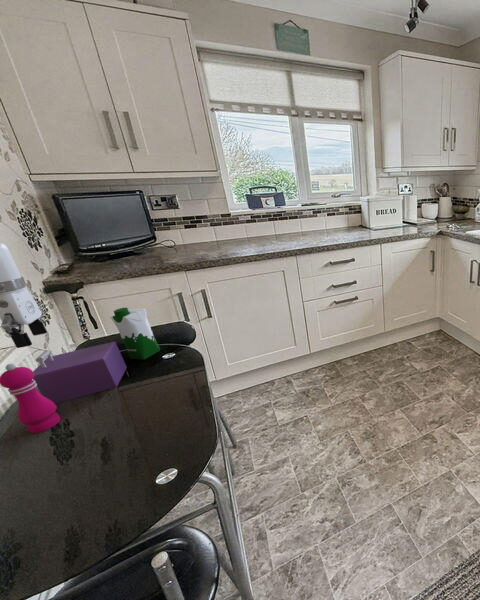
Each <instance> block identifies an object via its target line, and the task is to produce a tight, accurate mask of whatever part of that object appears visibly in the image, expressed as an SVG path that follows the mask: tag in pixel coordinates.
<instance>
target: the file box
mask: <svg viewBox="0 0 480 600" xmlns="http://www.w3.org/2000/svg"><path fill="white" fill-rule="evenodd" d="M127 368H128V366H127V364H126V362H125V360H124V358H123V356H122V353H121V351H120V349H119V347H118V345H117V343H116V344H115V345H114V347H113V348H112V350H111V351H110V353H109V354H108V356H107V357H106V359H105V360H104V361H100V362H96V363H92V364H88V365H84V366H80V367H76V368H72V369H68V370H64V371H60V372H56V373H52V374H48V375H44V376H40V377H36V378H33V380H35V383H37V386H36V388H37V390H38V391H39V393H40V394H41V395H42V396H44V397H46V398H48V399H50V400H51V401H52V402H54V403H55V405H57V404H60V403H65V402H67V401H72V400H75V399H78V397H79V398H81V397H85V395H86V396H89V395H93V394H96V392H97V393H100V392H104V391H107V390H110V389H114V388H118V385H119V384H120V381H121V380H122V377H123V376H124V374H125V372H126V370H127ZM92 393H93V394H92Z"/></svg>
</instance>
